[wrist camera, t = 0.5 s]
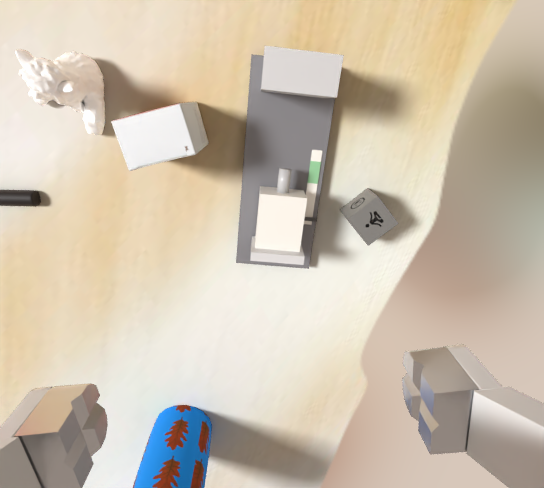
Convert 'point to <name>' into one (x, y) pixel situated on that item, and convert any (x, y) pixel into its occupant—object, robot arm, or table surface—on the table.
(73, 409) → the robot arm
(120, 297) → the table surface
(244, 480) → the table surface
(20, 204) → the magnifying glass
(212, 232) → the table surface
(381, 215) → the dice cube
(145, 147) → the small box
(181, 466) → the thermos
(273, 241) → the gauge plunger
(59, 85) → the white creature statuette
